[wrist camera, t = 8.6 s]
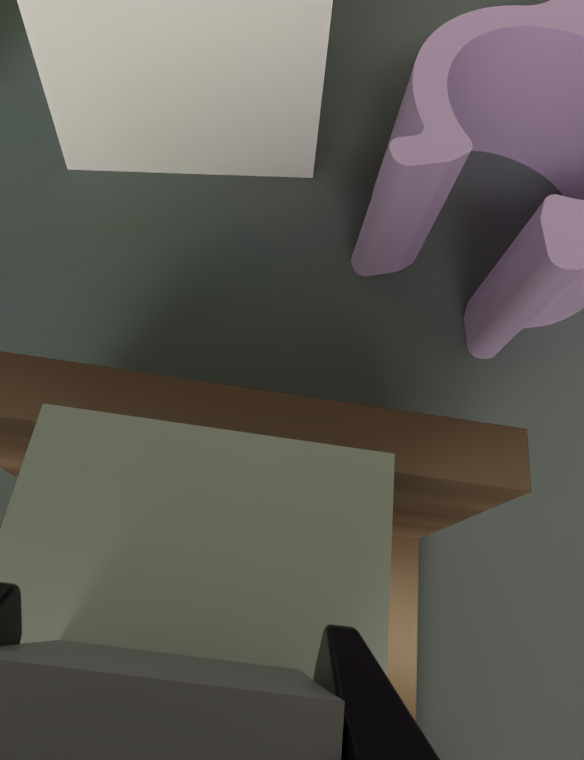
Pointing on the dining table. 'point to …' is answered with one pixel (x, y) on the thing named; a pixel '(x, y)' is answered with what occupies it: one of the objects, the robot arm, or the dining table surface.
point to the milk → (183, 83)
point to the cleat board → (307, 423)
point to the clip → (499, 136)
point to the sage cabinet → (186, 589)
